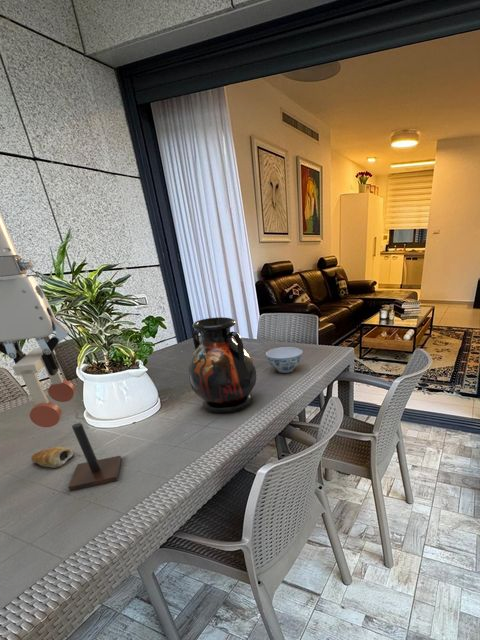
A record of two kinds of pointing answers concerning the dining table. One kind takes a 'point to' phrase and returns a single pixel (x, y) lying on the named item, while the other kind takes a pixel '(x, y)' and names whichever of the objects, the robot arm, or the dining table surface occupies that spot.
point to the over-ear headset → (58, 390)
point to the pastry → (52, 457)
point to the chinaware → (284, 358)
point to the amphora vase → (221, 366)
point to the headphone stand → (92, 465)
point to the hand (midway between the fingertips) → (42, 373)
